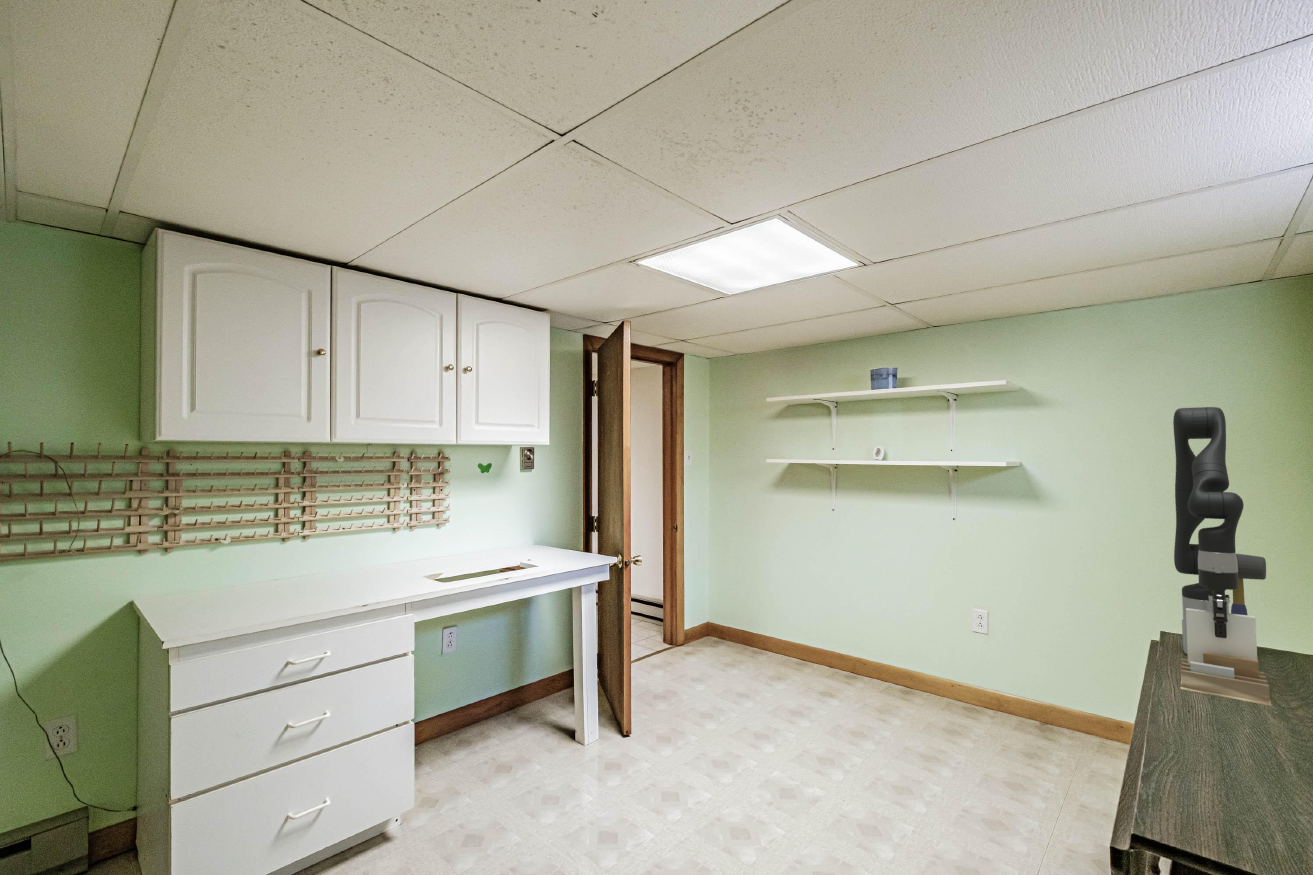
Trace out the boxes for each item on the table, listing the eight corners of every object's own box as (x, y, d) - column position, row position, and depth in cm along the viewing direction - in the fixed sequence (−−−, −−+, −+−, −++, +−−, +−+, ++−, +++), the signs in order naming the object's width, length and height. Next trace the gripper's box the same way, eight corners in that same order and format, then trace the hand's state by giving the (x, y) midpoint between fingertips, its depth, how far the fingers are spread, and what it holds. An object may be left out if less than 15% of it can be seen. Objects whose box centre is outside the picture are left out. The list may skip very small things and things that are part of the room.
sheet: (1188, 676, 158) (1185, 607, 158) (1258, 688, 149) (1254, 616, 150) (1188, 678, 156) (1185, 609, 157) (1258, 690, 147) (1255, 617, 148)
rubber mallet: (1271, 654, 179) (1266, 554, 180) (1268, 660, 174) (1264, 557, 175) (1215, 645, 188) (1211, 550, 189) (1211, 649, 183) (1207, 552, 185)
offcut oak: (1204, 682, 153) (1202, 651, 153) (1259, 692, 146) (1257, 660, 146) (1204, 685, 151) (1203, 653, 152) (1260, 695, 145) (1258, 662, 145)
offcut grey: (1191, 684, 152) (1190, 660, 152) (1234, 692, 146) (1233, 668, 147) (1191, 686, 150) (1190, 662, 150) (1235, 695, 145) (1234, 670, 145)
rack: (1181, 676, 161) (1180, 656, 161) (1265, 691, 150) (1264, 670, 150) (1180, 693, 149) (1179, 672, 149) (1272, 711, 138) (1271, 688, 139)
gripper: (1197, 563, 162) (1200, 626, 161) (1198, 570, 151) (1201, 638, 150) (1236, 566, 157) (1239, 632, 156) (1239, 574, 146) (1242, 644, 145)
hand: (1220, 634), depth 153 cm, fingers open, 4 cm apart
